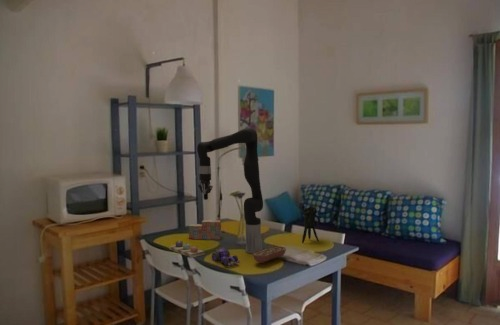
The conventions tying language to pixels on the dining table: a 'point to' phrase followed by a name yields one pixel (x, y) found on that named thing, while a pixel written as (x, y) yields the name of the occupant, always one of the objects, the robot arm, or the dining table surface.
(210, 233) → the stack of blocks
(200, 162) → the robot arm
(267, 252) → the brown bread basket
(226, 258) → the toy race car
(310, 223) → the black legged piece
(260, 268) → the dining table surface
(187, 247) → the button
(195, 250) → the button
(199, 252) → the button board
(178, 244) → the button
